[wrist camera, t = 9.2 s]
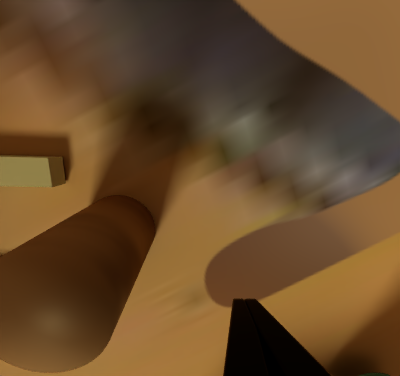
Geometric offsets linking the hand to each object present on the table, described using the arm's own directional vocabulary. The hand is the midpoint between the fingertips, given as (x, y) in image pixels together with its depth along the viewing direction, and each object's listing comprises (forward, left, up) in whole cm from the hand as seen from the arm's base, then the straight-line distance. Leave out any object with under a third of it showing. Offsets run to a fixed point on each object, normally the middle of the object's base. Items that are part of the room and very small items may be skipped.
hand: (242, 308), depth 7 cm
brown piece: (0, +7, -6) cm, 9 cm away
